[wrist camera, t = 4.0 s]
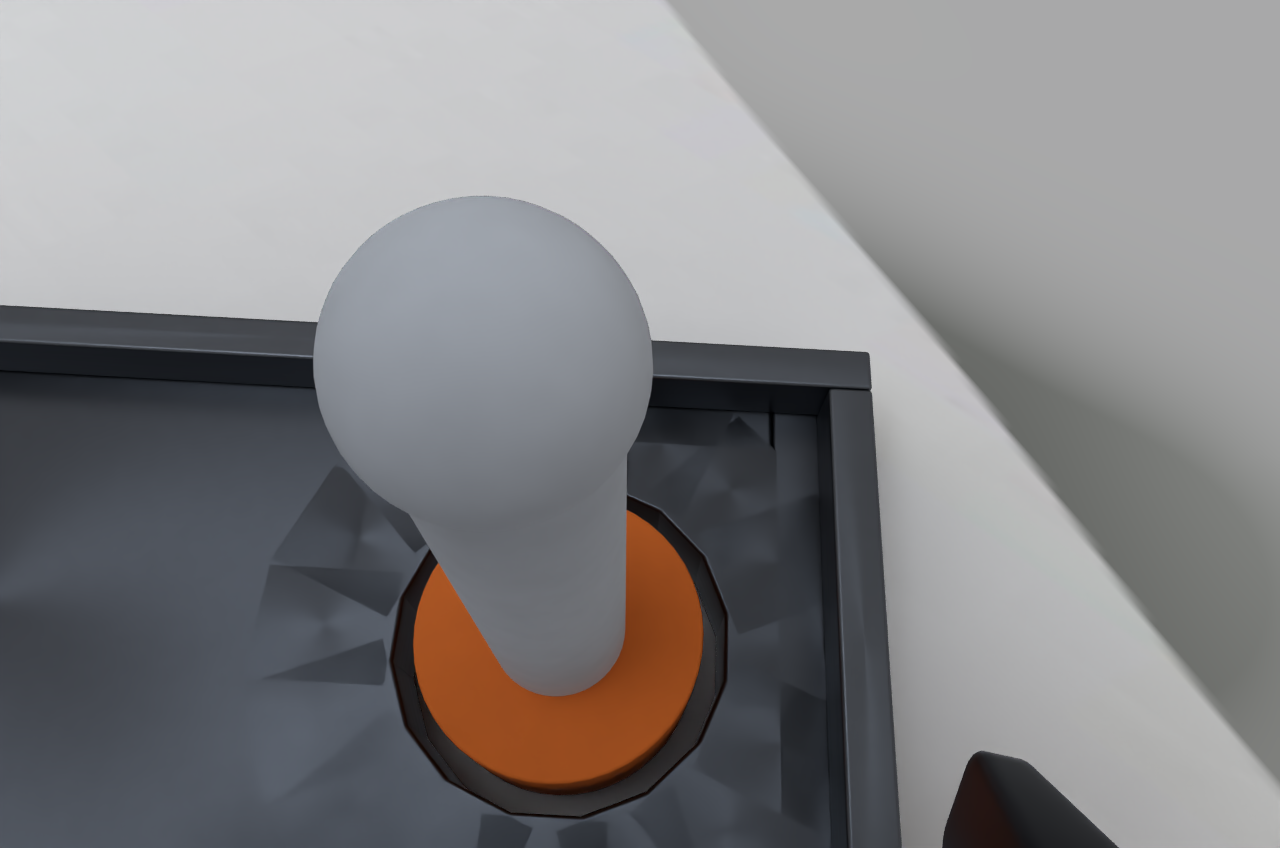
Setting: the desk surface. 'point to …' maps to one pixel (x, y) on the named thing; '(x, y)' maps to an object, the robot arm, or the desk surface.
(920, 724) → the desk surface
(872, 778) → the sink rim
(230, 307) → the desk surface
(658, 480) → the sink
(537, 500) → the plug
